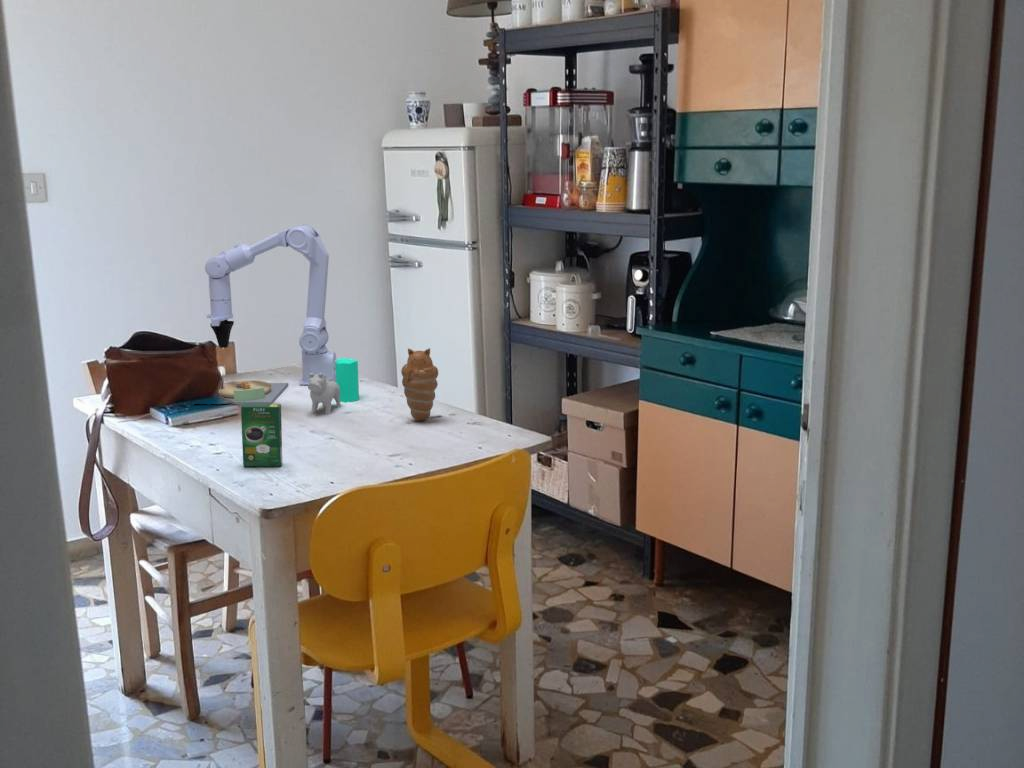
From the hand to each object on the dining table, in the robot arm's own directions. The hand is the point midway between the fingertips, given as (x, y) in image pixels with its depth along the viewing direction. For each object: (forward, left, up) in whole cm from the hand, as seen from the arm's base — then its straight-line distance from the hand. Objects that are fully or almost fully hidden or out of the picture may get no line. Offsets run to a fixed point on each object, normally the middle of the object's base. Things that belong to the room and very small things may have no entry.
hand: (223, 347), depth 278 cm
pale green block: (-13, +25, -9) cm, 29 cm away
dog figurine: (-34, +33, -10) cm, 49 cm away
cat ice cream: (-59, +43, -10) cm, 74 cm away
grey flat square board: (-9, +16, -10) cm, 21 cm away
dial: (-9, +17, -9) cm, 21 cm away
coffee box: (-29, +78, -10) cm, 84 cm away
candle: (-38, +21, -10) cm, 45 cm away
